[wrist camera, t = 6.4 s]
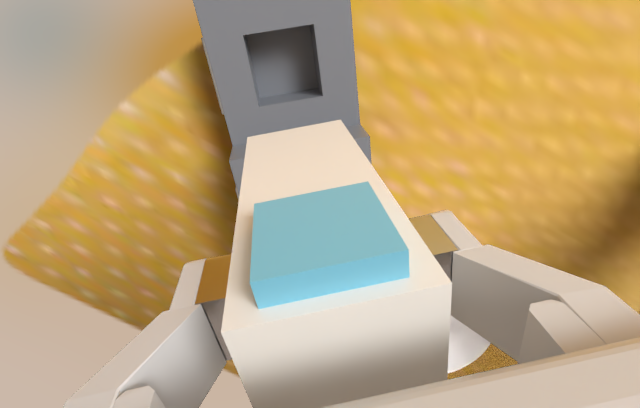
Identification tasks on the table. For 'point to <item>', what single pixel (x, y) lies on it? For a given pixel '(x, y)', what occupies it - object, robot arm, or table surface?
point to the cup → (464, 345)
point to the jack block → (281, 67)
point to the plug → (328, 278)
